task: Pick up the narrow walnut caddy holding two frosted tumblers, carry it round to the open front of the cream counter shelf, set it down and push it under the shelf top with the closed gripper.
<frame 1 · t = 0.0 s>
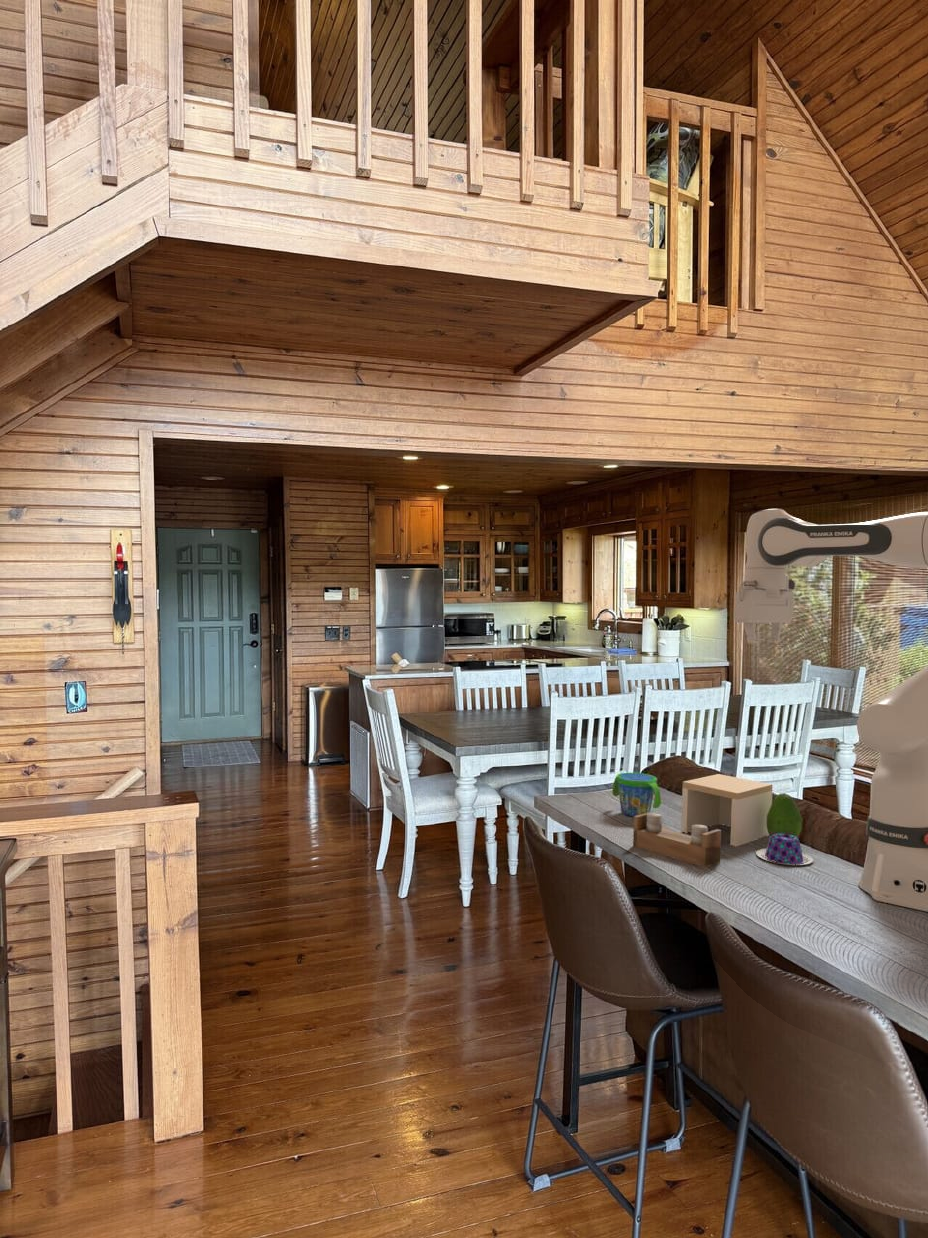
hand: (763, 643, 188), 48 cm above the table, tool pointing down, fingers open, 8 cm apart
snack cup: (635, 815, 222), on the table
counter: (725, 833, 205), on the table
caddy: (675, 853, 188), on the table
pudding: (784, 860, 186), on the table
avocado: (783, 844, 198), on the table
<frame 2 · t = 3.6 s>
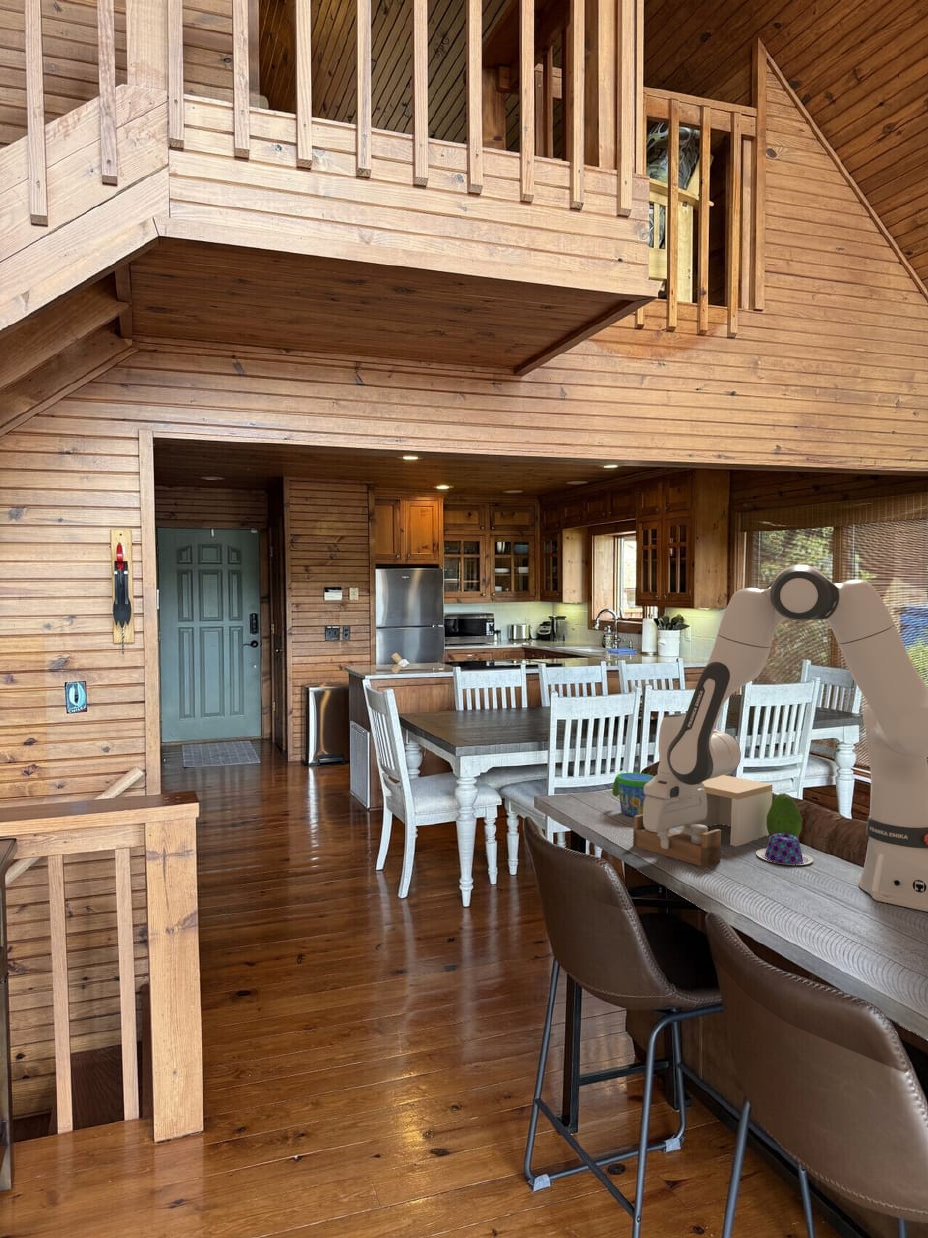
hand: (675, 845, 188), 2 cm above the table, tool pointing down, fingers closed on caddy, 6 cm apart
caddy: (675, 853, 188), on the table, touching gripper
everything else where it was.
when the fingers open (3 cm above the table, at t = 8.3 s): caddy drops 1 cm, on the table.
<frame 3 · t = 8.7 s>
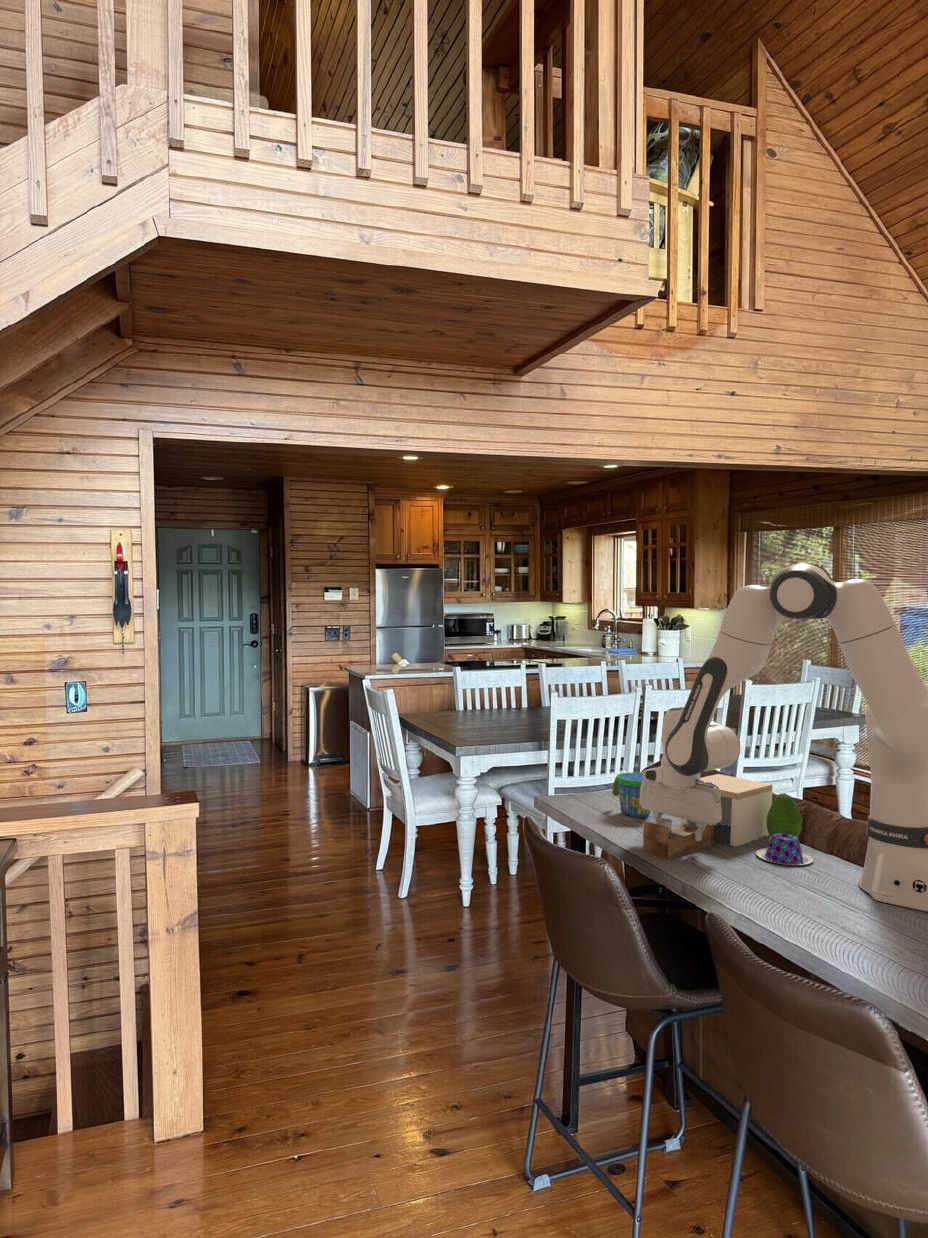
hand: (678, 835, 192), 3 cm above the table, tool pointing down, fingers open, 8 cm apart
caddy: (678, 848, 192), on the table
everything else where it was.
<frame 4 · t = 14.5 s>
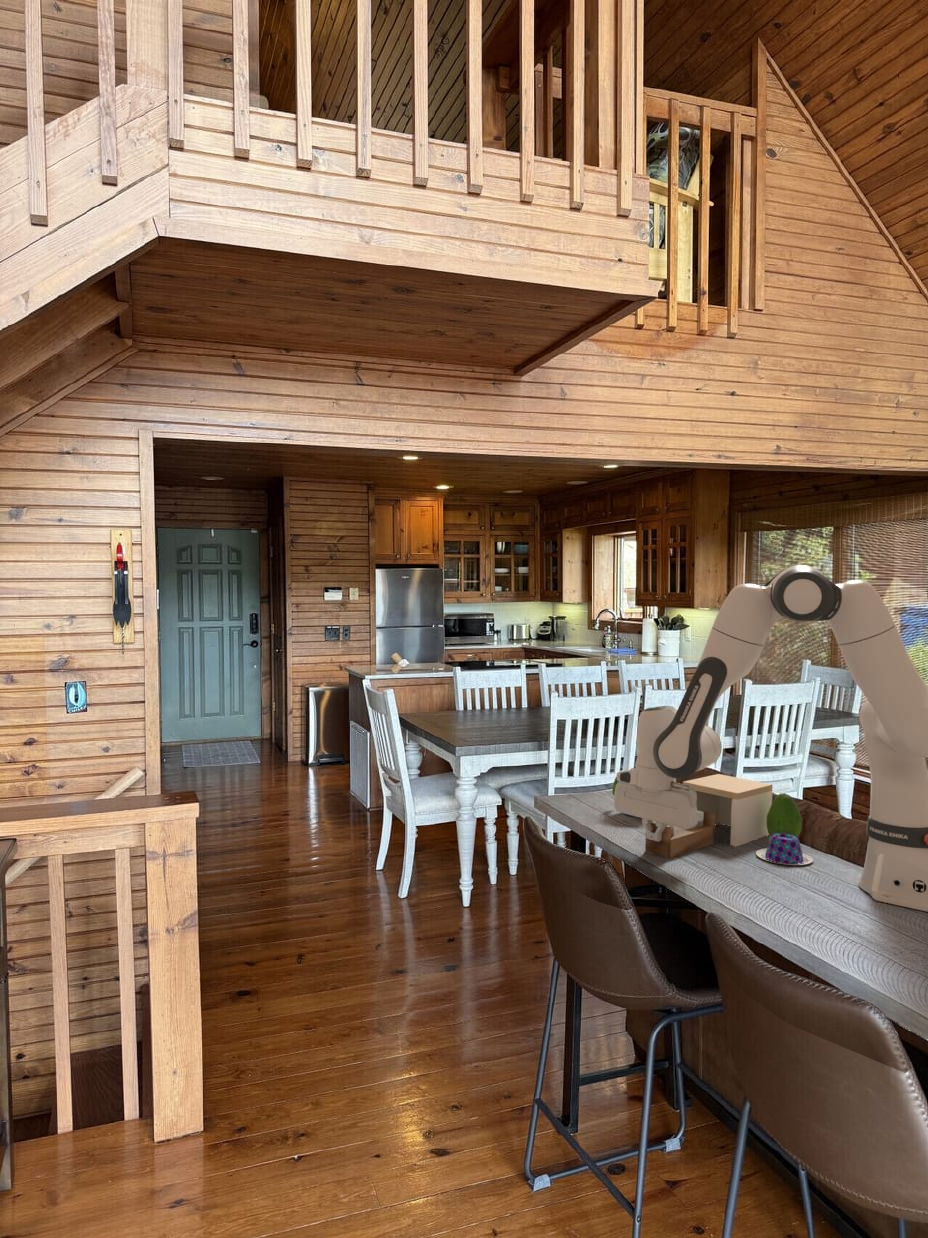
hand: (653, 840, 185), 4 cm above the table, tool pointing down, fingers closed, pressing on caddy
caddy: (680, 847, 192), on the table, touching gripper
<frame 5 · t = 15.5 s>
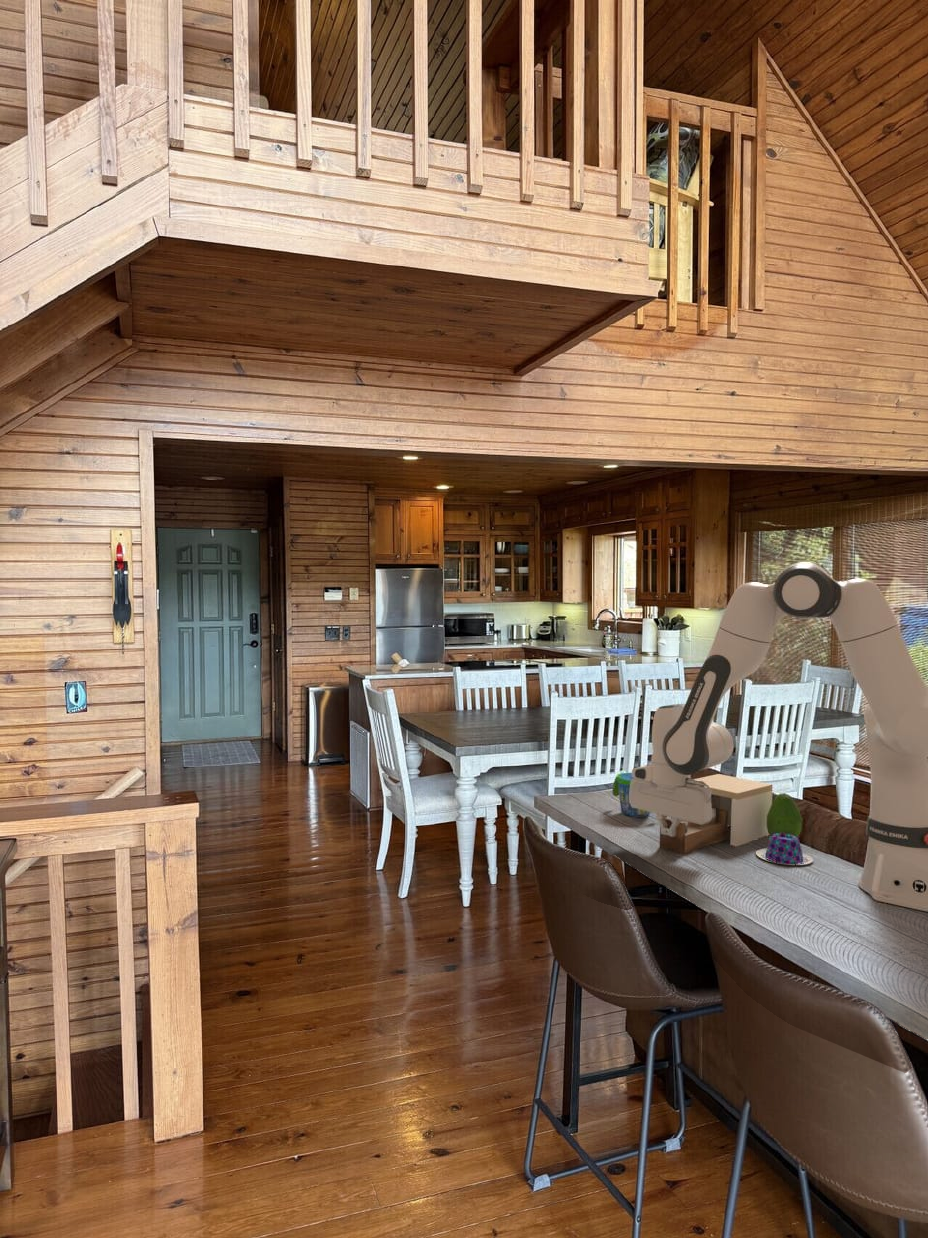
hand: (668, 835, 189), 4 cm above the table, tool pointing down, fingers closed
caddy: (693, 843, 196), on the table
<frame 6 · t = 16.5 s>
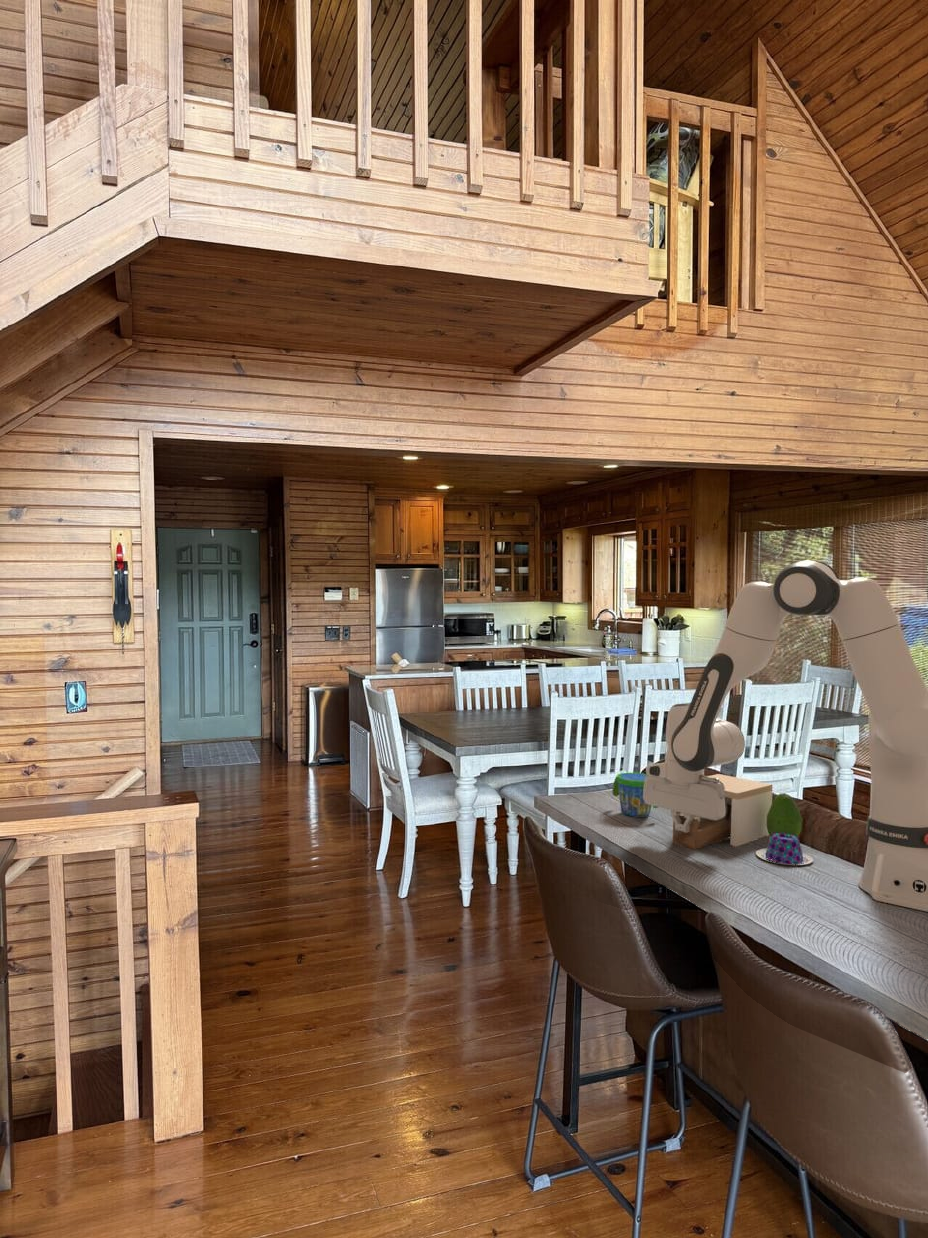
hand: (682, 831, 193), 4 cm above the table, tool pointing down, fingers closed, pressing on caddy
caddy: (706, 839, 200), on the table, touching gripper
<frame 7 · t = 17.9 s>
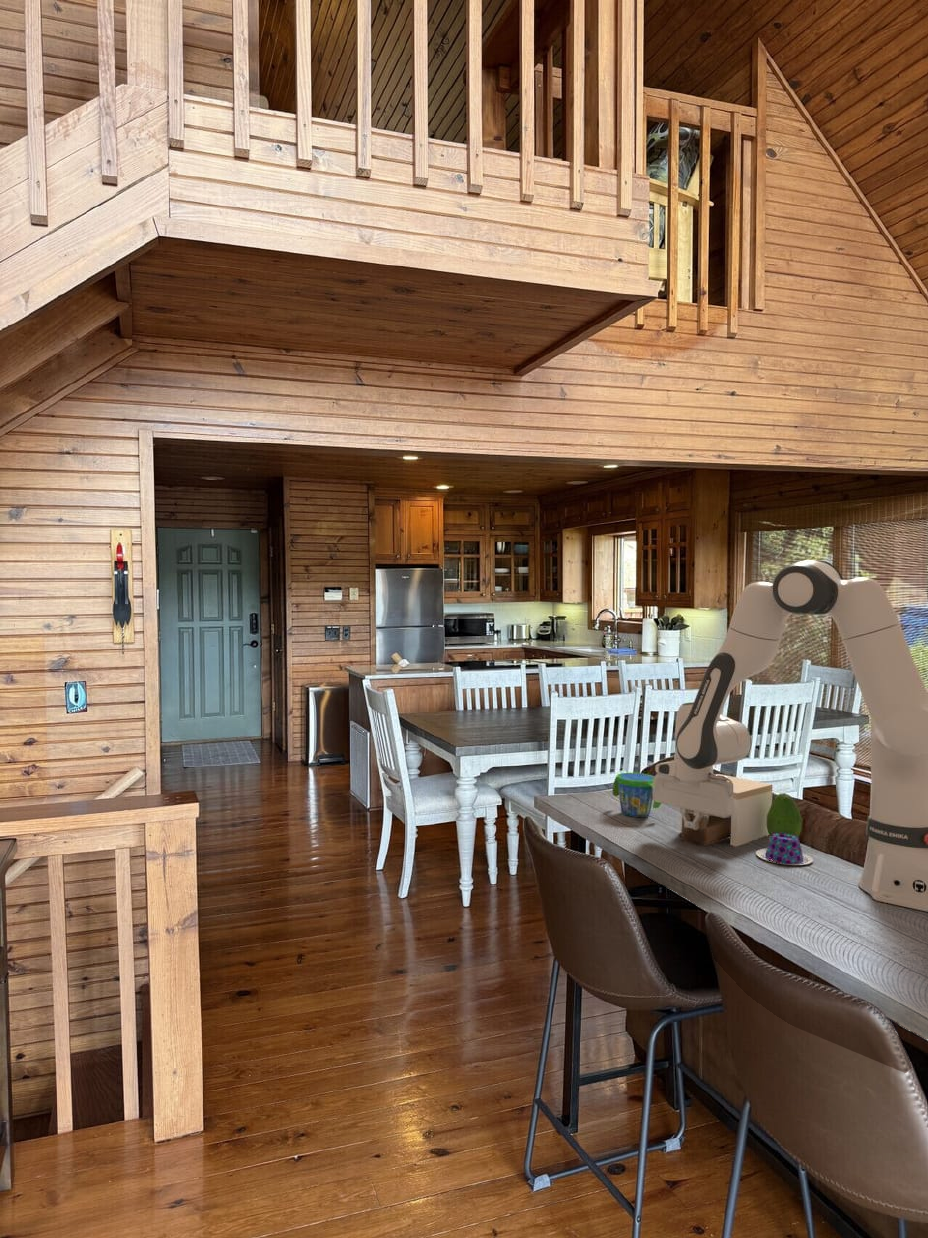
hand: (691, 828, 195), 4 cm above the table, tool pointing down, fingers closed, pressing on caddy
caddy: (714, 836, 202), on the table, touching gripper
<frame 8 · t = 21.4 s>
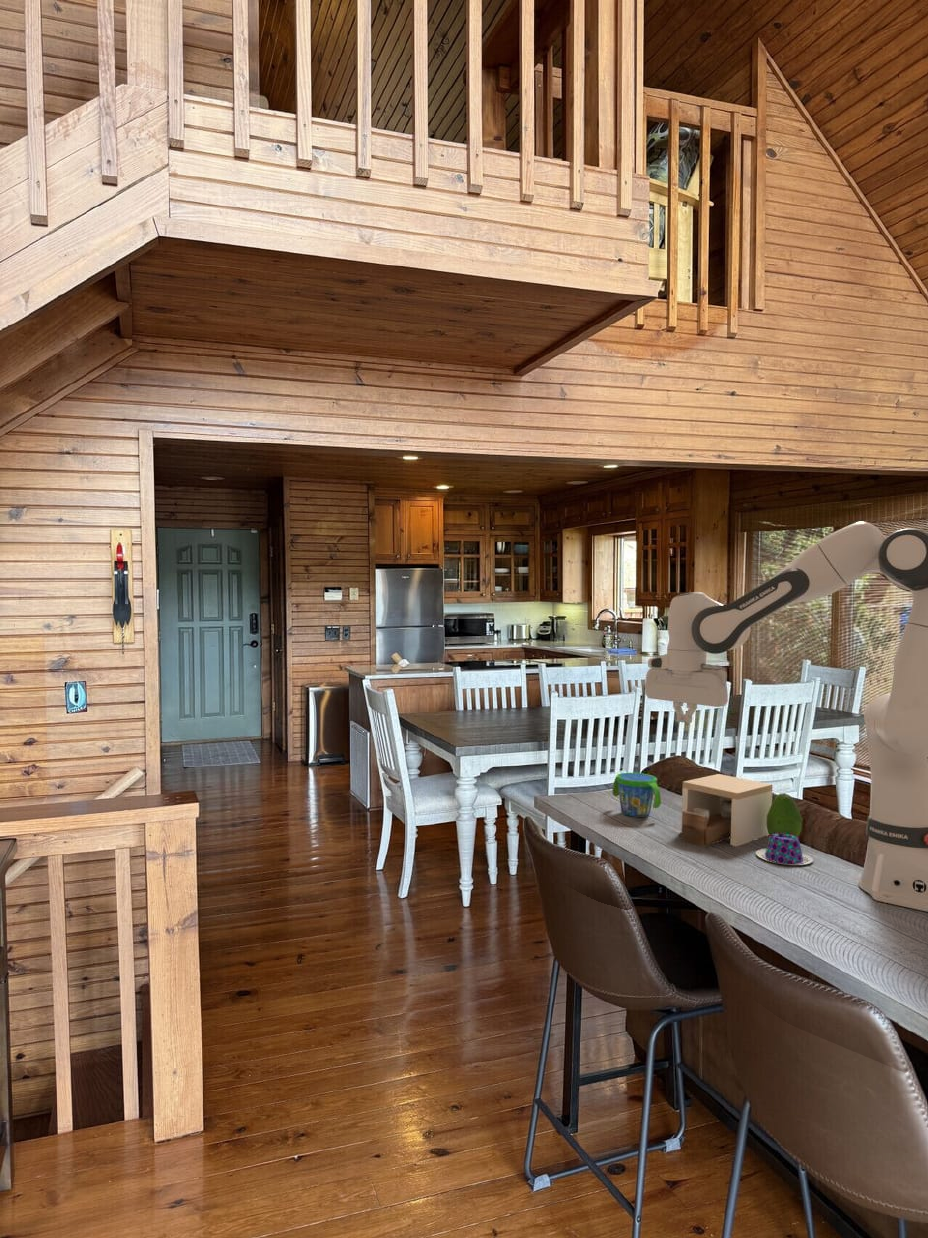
hand: (684, 722, 192), 29 cm above the table, tool pointing down, fingers closed
caddy: (714, 836, 202), on the table
at the end: caddy inside the target area (3.8 cm from its centre), on the table; caddy tilted 0° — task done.
